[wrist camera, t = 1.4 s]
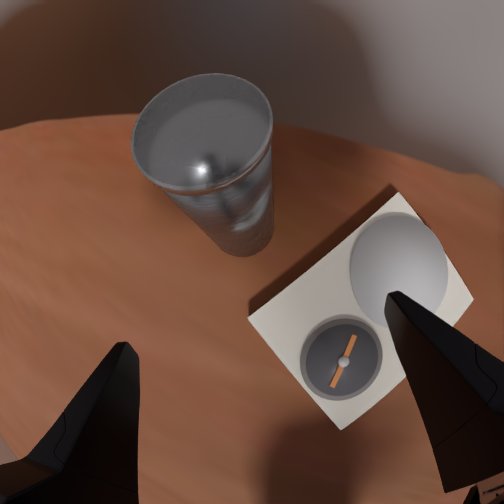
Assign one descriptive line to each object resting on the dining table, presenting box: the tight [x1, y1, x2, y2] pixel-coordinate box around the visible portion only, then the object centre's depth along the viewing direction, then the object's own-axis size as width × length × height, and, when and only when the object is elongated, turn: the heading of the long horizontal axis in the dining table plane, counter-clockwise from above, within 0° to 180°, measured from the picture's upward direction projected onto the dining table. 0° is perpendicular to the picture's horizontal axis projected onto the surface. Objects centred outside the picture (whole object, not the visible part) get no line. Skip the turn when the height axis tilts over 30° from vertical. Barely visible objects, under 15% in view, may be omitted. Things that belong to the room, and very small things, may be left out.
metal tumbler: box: [131, 73, 274, 257], centre depth 16 cm, size 5×5×14 cm
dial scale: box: [248, 192, 474, 430], centre depth 20 cm, size 16×12×2 cm
